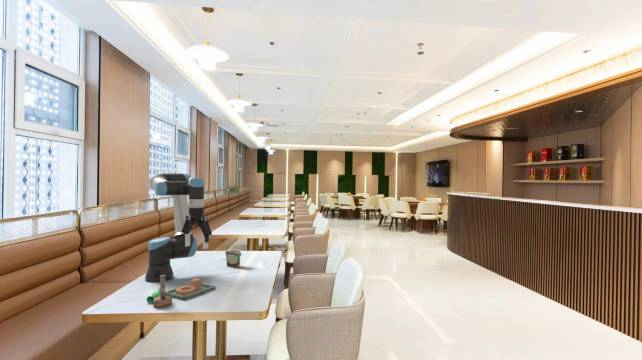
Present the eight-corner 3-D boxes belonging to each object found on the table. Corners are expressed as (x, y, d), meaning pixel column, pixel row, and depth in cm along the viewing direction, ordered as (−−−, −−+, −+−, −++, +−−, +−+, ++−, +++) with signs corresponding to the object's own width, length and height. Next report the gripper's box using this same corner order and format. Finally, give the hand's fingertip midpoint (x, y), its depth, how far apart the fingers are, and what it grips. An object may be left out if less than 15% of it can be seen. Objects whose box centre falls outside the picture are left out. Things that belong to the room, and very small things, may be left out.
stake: (149, 306, 164) (149, 276, 163) (164, 300, 171) (164, 272, 170) (160, 309, 160) (160, 279, 160) (175, 303, 167) (175, 275, 166)
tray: (184, 300, 171) (184, 297, 171) (163, 295, 179) (163, 292, 179) (215, 289, 189) (215, 286, 189) (195, 284, 196) (195, 281, 196)
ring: (172, 293, 180) (172, 283, 179) (193, 286, 191) (193, 277, 191) (184, 296, 175) (184, 286, 175) (205, 289, 187) (205, 279, 186)
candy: (155, 293, 180) (160, 286, 180) (161, 296, 180) (166, 290, 180) (144, 301, 168) (149, 294, 168) (151, 305, 168) (155, 298, 168)
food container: (245, 266, 236) (245, 251, 235) (238, 268, 230) (238, 253, 230) (232, 264, 242) (232, 249, 242) (225, 266, 237) (225, 251, 237)
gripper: (174, 206, 190) (174, 246, 190) (207, 208, 177) (207, 251, 177) (186, 205, 196) (186, 243, 196) (218, 207, 184) (218, 248, 184)
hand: (196, 247), depth 187 cm, fingers open, 13 cm apart
